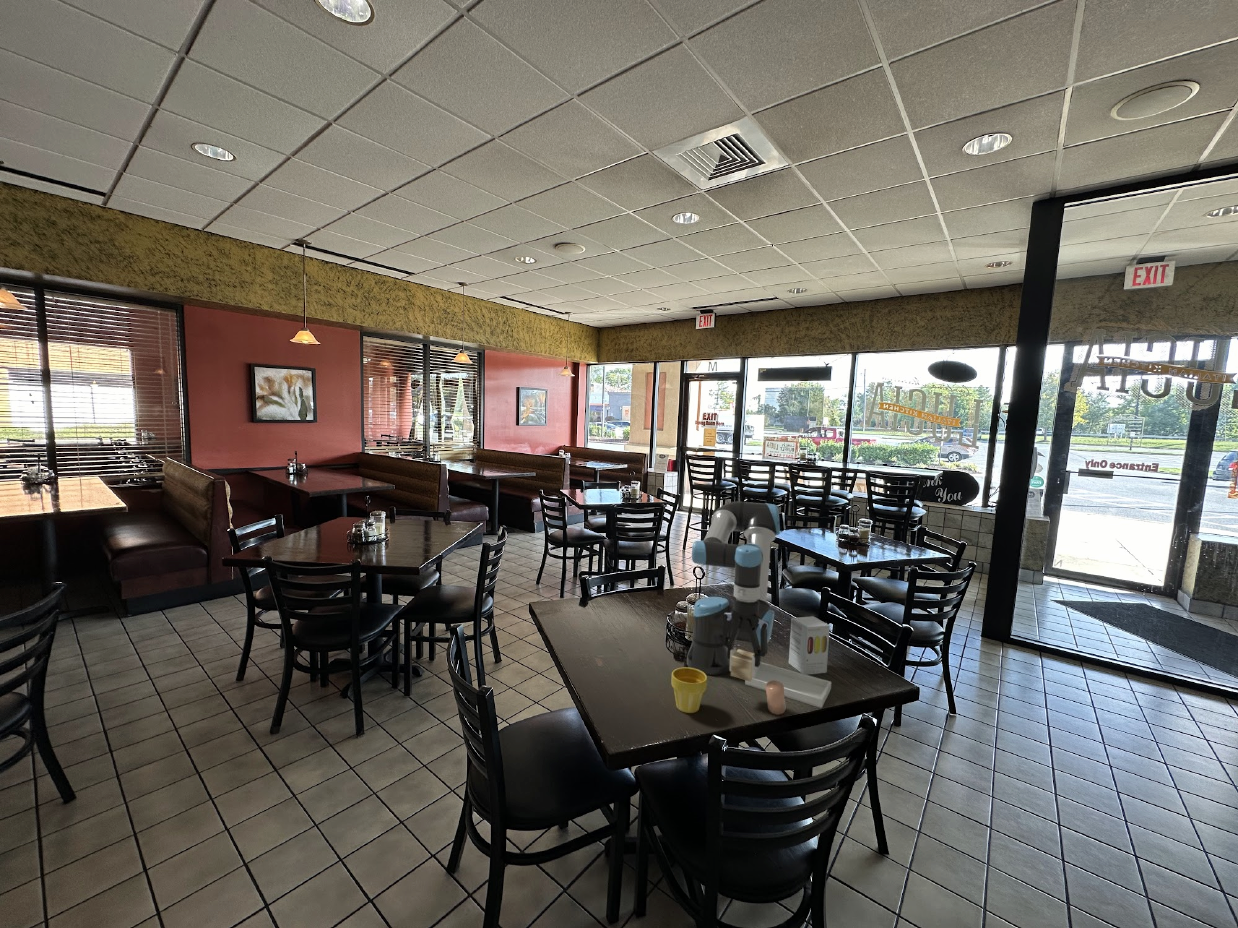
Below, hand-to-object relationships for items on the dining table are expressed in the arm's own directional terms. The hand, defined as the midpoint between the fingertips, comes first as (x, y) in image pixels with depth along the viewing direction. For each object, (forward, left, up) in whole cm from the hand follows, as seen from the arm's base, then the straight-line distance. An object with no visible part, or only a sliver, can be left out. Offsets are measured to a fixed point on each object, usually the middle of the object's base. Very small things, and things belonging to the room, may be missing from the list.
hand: (742, 672), depth 153 cm
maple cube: (0, +1, -1) cm, 1 cm away
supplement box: (+11, +35, -9) cm, 38 cm away
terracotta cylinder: (+10, +1, -8) cm, 13 cm away
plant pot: (-12, -13, -9) cm, 20 cm away
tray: (+9, +17, -9) cm, 22 cm away
